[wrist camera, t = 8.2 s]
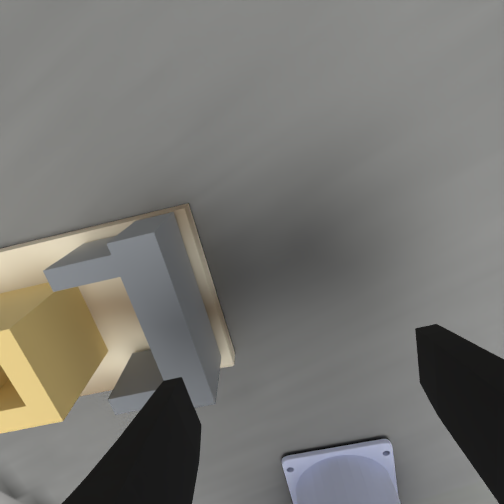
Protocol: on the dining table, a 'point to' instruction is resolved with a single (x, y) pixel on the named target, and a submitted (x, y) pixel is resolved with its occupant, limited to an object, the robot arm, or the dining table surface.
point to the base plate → (114, 291)
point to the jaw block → (44, 354)
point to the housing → (152, 309)
